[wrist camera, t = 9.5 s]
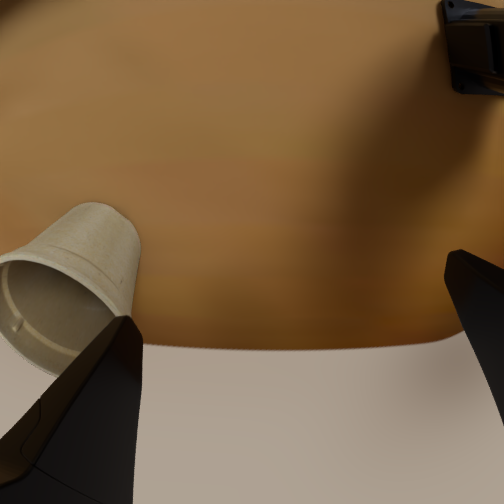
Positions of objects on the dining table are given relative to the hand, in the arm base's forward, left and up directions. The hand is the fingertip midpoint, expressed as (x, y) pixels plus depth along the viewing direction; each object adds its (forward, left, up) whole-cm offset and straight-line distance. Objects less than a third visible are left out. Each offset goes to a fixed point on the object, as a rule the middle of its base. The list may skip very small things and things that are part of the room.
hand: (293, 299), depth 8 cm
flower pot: (+12, +3, -12) cm, 17 cm away
